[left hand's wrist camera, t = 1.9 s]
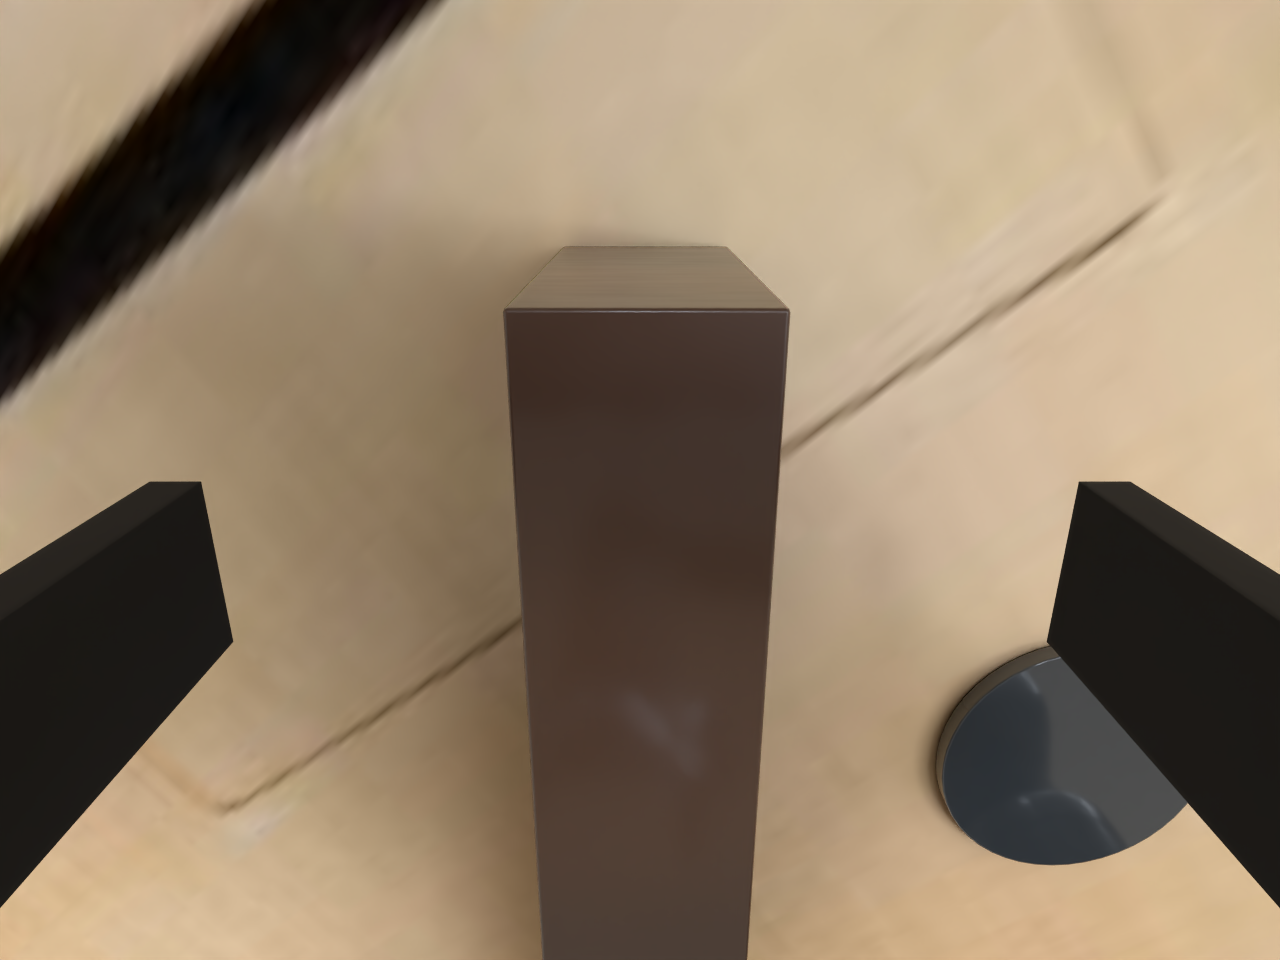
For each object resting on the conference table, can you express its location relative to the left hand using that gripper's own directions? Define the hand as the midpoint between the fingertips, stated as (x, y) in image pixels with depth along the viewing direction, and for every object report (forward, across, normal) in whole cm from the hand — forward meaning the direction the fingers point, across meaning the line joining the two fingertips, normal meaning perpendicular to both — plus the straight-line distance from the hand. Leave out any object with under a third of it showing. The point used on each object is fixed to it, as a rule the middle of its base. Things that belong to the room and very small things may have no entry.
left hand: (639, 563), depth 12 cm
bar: (+9, 0, -9) cm, 13 cm away
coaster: (+9, +13, -11) cm, 19 cm away
